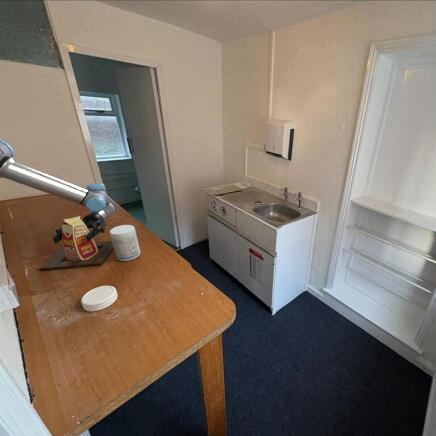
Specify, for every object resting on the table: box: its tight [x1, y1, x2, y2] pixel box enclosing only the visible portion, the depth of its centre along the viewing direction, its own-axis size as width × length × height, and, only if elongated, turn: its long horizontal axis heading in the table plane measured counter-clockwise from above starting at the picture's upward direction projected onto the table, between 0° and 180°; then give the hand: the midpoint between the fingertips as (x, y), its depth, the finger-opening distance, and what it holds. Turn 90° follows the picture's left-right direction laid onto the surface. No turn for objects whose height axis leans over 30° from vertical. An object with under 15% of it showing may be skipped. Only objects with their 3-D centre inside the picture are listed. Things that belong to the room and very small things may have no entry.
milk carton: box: [61, 215, 99, 261], centre depth 105 cm, size 9×9×20 cm
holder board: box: [38, 240, 115, 272], centre depth 109 cm, size 22×20×2 cm
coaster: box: [80, 285, 118, 312], centre depth 84 cm, size 10×10×4 cm
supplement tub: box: [109, 224, 141, 262], centre depth 108 cm, size 10×10×15 cm
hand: (71, 239), depth 101 cm, fingers open, 11 cm apart
